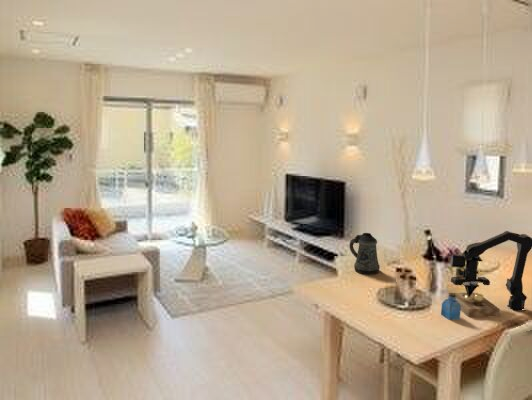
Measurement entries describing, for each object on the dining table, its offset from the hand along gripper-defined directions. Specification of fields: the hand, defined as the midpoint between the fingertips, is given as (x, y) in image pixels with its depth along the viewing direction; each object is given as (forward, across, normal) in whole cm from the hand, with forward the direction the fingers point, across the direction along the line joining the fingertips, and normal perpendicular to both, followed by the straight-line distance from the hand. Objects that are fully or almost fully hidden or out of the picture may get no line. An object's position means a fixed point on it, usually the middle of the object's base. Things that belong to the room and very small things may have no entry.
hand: (468, 296), depth 234 cm
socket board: (+4, 0, +5) cm, 7 cm away
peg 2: (-1, 0, +10) cm, 10 cm away
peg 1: (+4, 0, 0) cm, 4 cm away
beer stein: (+5, +42, -55) cm, 69 cm away
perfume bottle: (+5, +17, +16) cm, 24 cm away
